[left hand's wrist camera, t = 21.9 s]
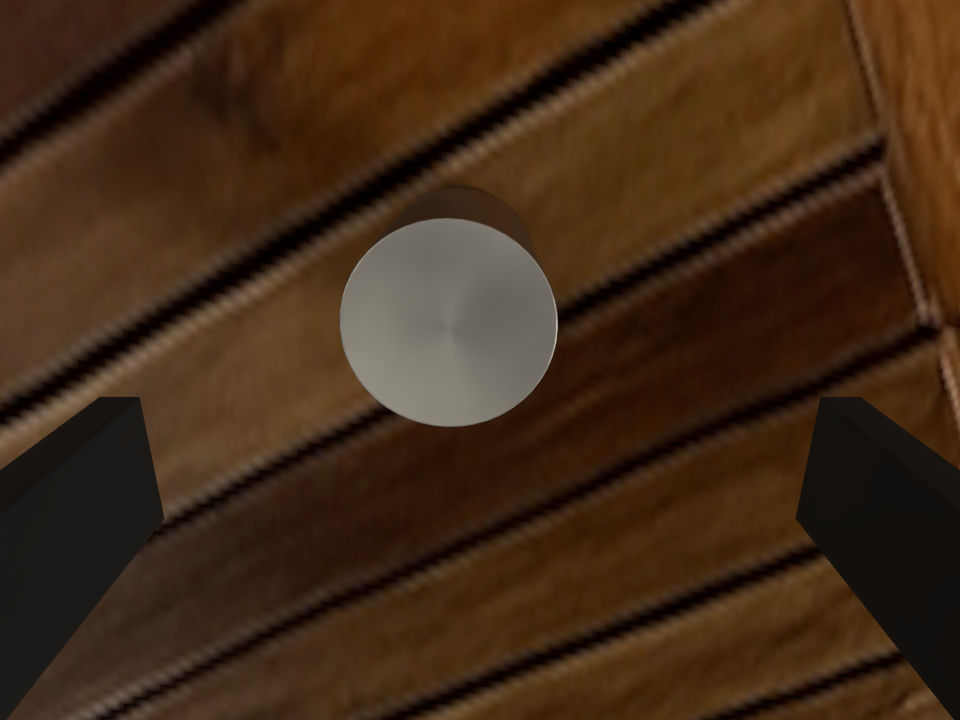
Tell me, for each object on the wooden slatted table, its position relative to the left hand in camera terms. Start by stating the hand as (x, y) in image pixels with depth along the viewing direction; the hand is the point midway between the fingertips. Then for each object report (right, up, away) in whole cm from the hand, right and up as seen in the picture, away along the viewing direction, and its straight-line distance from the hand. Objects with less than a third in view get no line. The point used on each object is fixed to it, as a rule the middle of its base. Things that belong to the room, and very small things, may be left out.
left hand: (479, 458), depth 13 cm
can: (-1, +6, +14) cm, 15 cm away
